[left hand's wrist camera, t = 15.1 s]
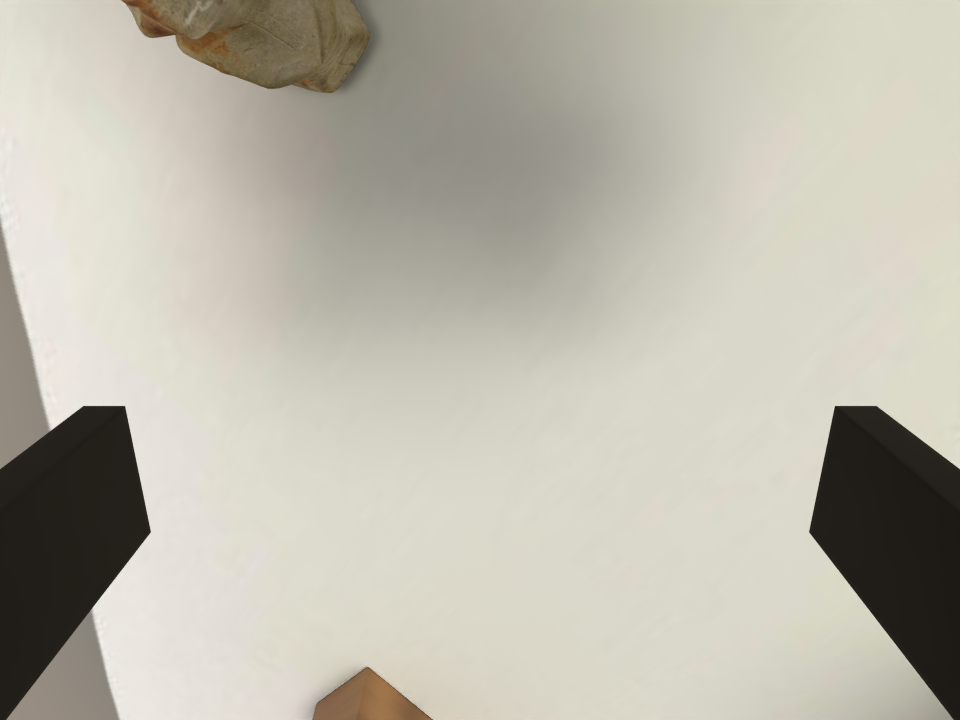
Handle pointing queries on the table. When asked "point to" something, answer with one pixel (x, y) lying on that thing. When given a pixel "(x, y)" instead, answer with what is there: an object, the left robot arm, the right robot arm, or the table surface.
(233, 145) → the table surface
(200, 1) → the sculpture
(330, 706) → the bar
